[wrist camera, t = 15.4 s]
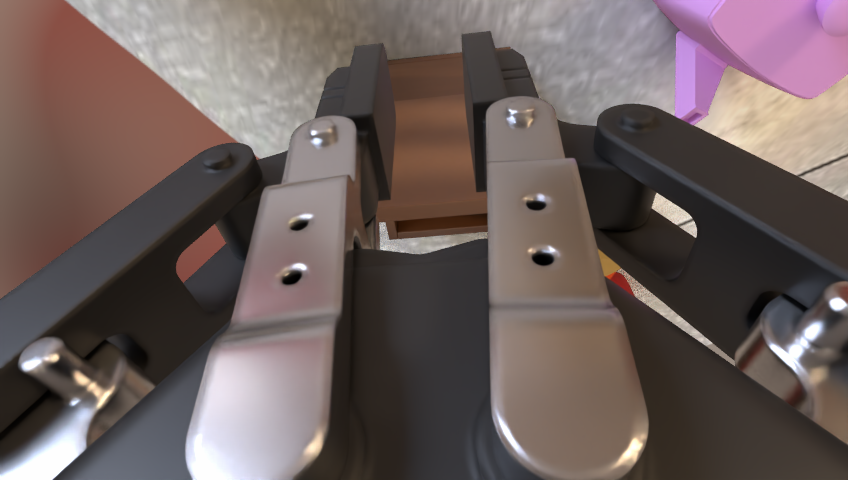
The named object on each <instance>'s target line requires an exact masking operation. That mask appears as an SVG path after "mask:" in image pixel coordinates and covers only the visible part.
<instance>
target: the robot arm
mask: <svg viewBox="0 0 848 480" xmlns="http://www.w3.org/2000/svg"><path fill="white" fill-rule="evenodd" d="M462 58H463V77H464V96H465V109H466V118H467V126H468V133H469V141H470V148H471V156H472V163H473V171H474V179H475V186H476V192H486V193H487V214H488V239H478V240H474V241H470V242H467V243H463V244H460V245H456V246H452V247H449V248H445V249H441V250H438V251H434V252H431V253H427V254H409V253H400V252H392V251H383V250H380V234H379V220H378V216H377V208H378V201H383V200H391V188H392V174H393V160H394V145H395V131H396V111H395V103H394V97H393V91H392V85H391V79H390V73H389V67H388V61H387V56H386V50H385V47H384V44H383V43H380V44H371V45H363V46H355V48H354V52H353V56H352V60H351V65H350V67H341V68H337V69H336V70H335V71H334V72H333V73H332V74H331V75H330V76H329V77H328V78H327V80H326V83H325V86H324V91H323V93H322V96H321V99H320V103H319V106H318V109H317V112H316V116H315V119H312V120H310V121H308V122H306V123H304V124H302V125H300V126H299V127H298V128H297V129H296V130H295V131H294V132H293V134H292V136H291V139H290V144H289V149H288V151H285V152H282V153H279V154H276V155H273V156H269V157H266V158H262V159H259V160H256V157H255V155H254V153H253V150H252V149H251V148H250V147H249V146H248V145H245V144H241V143H226V144H221V145H217V146H214V147H211V148H209V149H207V150H205V151H203V152H201V153H199V154H198V155H197V156H195V157H194V158H192V159H191V160H189V161H188V162H187V163H185V164H184V165H183V166H181V167H180V168H179V169H177V170H176V171H174V172H173V173H172V174H170V175H169V176H168V177H166V178H165V179H164V180H162V181H161V182H159V183H158V184H157V185H155V186H154V187H153V188H151V189H150V190H149V191H147V192H146V193H144V194H143V195H142V196H140V197H139V198H138V199H136V200H135V201H134V202H132V203H131V204H129V205H128V206H127V207H125V208H124V209H123V210H121V211H120V212H118V213H117V214H116V215H114V216H113V217H112V218H110V219H109V220H108V221H106V222H105V223H104V224H102V225H101V226H100V227H98V228H97V229H95V230H94V231H93V232H91V233H90V234H88V235H87V236H86V237H84V238H83V239H82V240H80V241H79V242H78V243H76V244H75V245H73V246H72V247H71V248H69V249H68V250H67V251H65V252H64V253H63V254H61V255H60V256H59V257H57V258H56V259H54V260H53V261H52V262H51V263H49V264H48V265H46V266H45V267H43V268H42V269H41V270H39V271H38V272H37V273H35V274H34V275H32V276H31V277H30V278H28V279H27V280H26V281H24V282H23V283H22V284H20V285H19V286H17V287H16V288H15V289H13V290H12V291H11V292H9V293H8V294H7V295H5V296H4V297H3V298H1V299H0V480H848V201H847V200H844V199H842V198H840V197H838V196H836V195H834V194H832V193H830V192H828V191H826V190H824V189H822V188H820V187H818V186H816V185H814V184H812V183H810V182H808V181H806V180H804V179H802V178H800V177H798V176H796V175H794V174H791V173H789V172H787V171H785V170H783V169H781V168H779V167H777V166H775V165H773V164H771V163H769V162H767V161H765V160H763V159H761V158H759V157H757V156H755V155H753V154H751V153H749V152H747V151H745V150H743V149H741V148H738V147H736V146H734V145H732V144H730V143H728V142H726V141H724V140H722V139H720V138H718V137H716V136H714V135H712V134H710V133H708V132H706V131H704V130H702V129H700V128H698V127H696V126H694V125H692V124H690V123H688V122H685V121H683V120H681V119H679V118H677V117H675V116H673V115H671V114H669V113H667V112H665V111H663V110H661V109H658V108H655V107H652V106H648V105H641V104H623V105H618V106H614V107H611V108H608V109H606V110H605V111H603V112H602V113H601V114H600V115H599V117H598V121H597V126H587V125H577V124H570V123H565V122H562V121H559V120H557V118H556V114H555V110H554V108H553V107H552V105H550V104H549V103H548V102H546V101H544V100H542V99H539V97H538V94H537V92H536V89H535V86H534V83H533V81H532V78H531V75H530V72H529V70H528V67H527V64H526V61H525V59H524V56H522V55H521V54H519V53H518V52H516V51H515V50H513V49H505V50H495V46H494V42H493V39H492V35H491V32H490V31H486V32H477V33H469V34H462ZM656 192H657V193H658V194H660V195H662V196H663V197H665V198H666V199H668V200H669V201H671V202H672V203H674V204H676V205H677V206H679V207H680V208H682V209H683V210H685V211H686V212H687V213H688V214H690V216H691V217H692V218H693V220H694V221H695V224H696V227H697V237H696V238H695V237H693V236H692V235H690V234H689V233H687V232H686V231H684V230H683V229H681V228H680V227H678V226H677V225H675V224H674V223H672V222H671V221H670V220H668V219H667V218H665V217H664V216H662V215H661V214H659V213H658V212H656V211H655V210H653V209H652V208H651V207H652V204H653V201H654V198H655V195H656ZM214 224H215V225H216V226H217V228H218V230H219V231H220V233H221V235H222V236H223V238H224V240H225V242H226V244H225V245H224V246H223V247H222V248H221V249H220V250H219V251H218V252H217V253H215V254H214V255H213V256H212V257H211V258H210V259H209V260H208V261H207V262H206V263H205V264H204V265H203V266H201V268H199V269H198V270H197V271H196V272H195V273H194V274H193V275H192V276H191V277H189V278H188V279H187V280H186V281H185V282H184V283H183V282H182V281H181V280H180V278H179V277H178V275H177V273H176V263H177V260H178V258H179V256H180V255H181V253H182V252H183V251H184V250H185V249H186V248H187V247H188V246H190V245H191V244H192V243H193V242H194V241H195V240H197V239H198V238H199V237H200V236H201V235H202V234H203V233H204V232H206V231H207V230H208V229H209V228H210V227H211V226H212V225H214ZM597 248H598V249H599V250H600V251H601V252H603V253H604V254H605V255H606V256H607V257H609V258H610V259H611V260H612V261H614V262H615V263H616V264H617V265H618V266H620V267H621V268H622V269H623V270H624V271H626V272H627V273H628V274H629V275H631V276H632V277H633V278H634V279H635V280H637V281H638V282H639V283H640V284H642V285H643V286H644V287H645V288H646V289H648V290H649V291H650V292H651V293H653V294H654V295H655V296H656V297H657V298H659V299H660V300H661V301H662V302H663V303H665V304H666V305H667V306H668V307H670V308H671V309H672V310H673V311H674V312H676V313H677V314H678V315H679V316H681V317H682V318H683V319H684V320H685V321H687V322H688V323H689V324H690V325H691V326H693V327H694V328H695V329H696V330H698V331H699V332H700V333H701V334H702V335H704V336H705V337H706V338H707V339H709V340H710V341H711V342H712V343H713V344H715V345H716V346H717V347H718V348H720V349H721V350H722V351H723V352H724V353H726V354H727V355H728V356H729V357H731V358H732V359H733V360H734V361H735V366H734V365H732V364H730V363H729V362H728V361H726V360H725V359H724V358H722V357H721V356H719V355H718V354H716V353H715V352H713V351H712V350H710V349H709V348H708V347H706V346H705V345H703V344H702V343H701V342H699V341H698V340H696V339H695V338H693V337H692V336H690V335H689V334H688V333H686V332H685V331H683V330H682V329H680V328H679V327H678V326H676V325H675V324H673V323H672V322H670V321H669V320H667V319H666V318H665V317H663V316H662V315H660V314H659V313H657V312H656V311H654V310H653V309H652V308H650V307H649V306H647V305H646V304H644V303H643V302H642V301H640V300H639V299H637V298H636V297H634V296H633V295H631V294H630V293H629V292H627V291H626V290H624V289H623V288H621V287H620V286H619V285H617V284H616V283H614V282H613V281H611V280H610V279H608V278H607V277H606V276H604V273H603V269H602V265H601V261H600V257H599V253H598V249H597Z"/></svg>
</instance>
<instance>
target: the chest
mask: <svg viewBox="0 0 848 480" xmlns="http://www.w3.org/2000/svg"><path fill="white" fill-rule="evenodd" d="M505 49H511V48H510V47H506V48H497V49H495V50H505ZM388 67H389V73H390V79H391V85H392V91H393V97H394V101H402V100H412V99H422V98H431V97H441V96H450V95H460V94H464V77H463V58H462V52H461V53H452V54H443V55H434V56H425V57H416V58H407V59H398V60H389V61H388ZM386 227H387V231H388V235H389V239H390V240H392V239H404V238H416V237H428V236H440V235H453V234H465V233H477V232H488V214H487V213H483V214H471V215H460V216H448V217H436V218H424V219H412V220H401V221H389V222H386Z"/></svg>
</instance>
